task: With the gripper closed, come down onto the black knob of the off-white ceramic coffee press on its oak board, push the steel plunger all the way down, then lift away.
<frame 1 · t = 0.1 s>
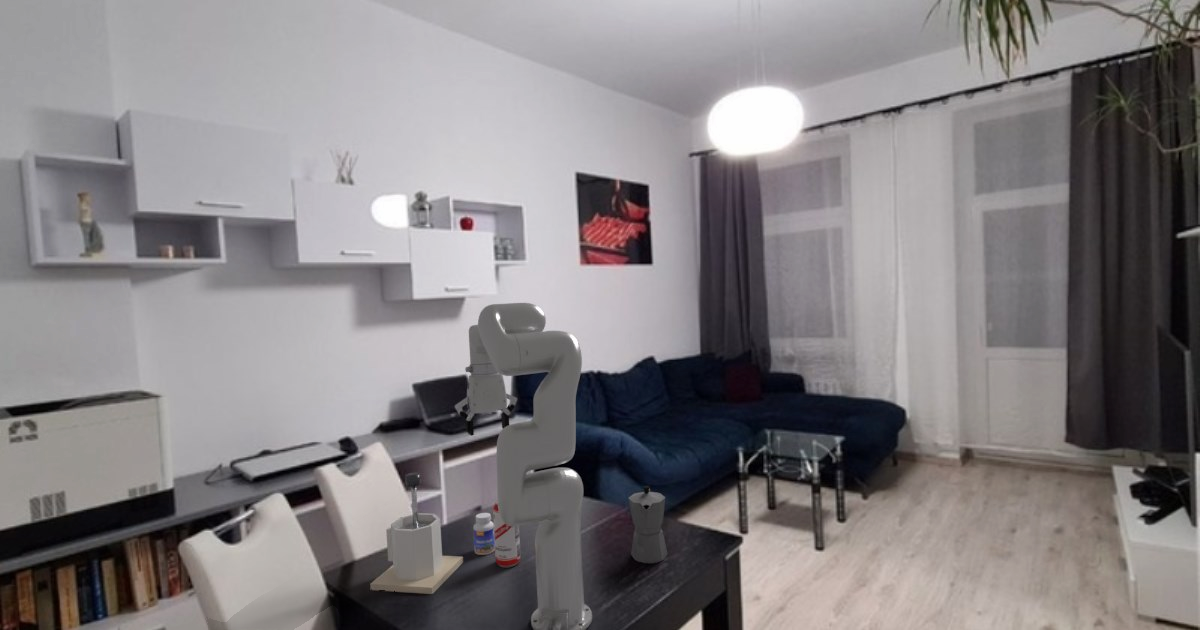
hand: (488, 431, 159), 31 cm above the table, tool pointing down, fingers open, 9 cm apart
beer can: (508, 563, 148), on the table
coffeepot: (649, 554, 149), on the table
press: (418, 575, 143), on the table
pill bottle: (484, 551, 156), on the table
plunger: (414, 503, 143), point 18 cm above the table, slide at 0.0 cm
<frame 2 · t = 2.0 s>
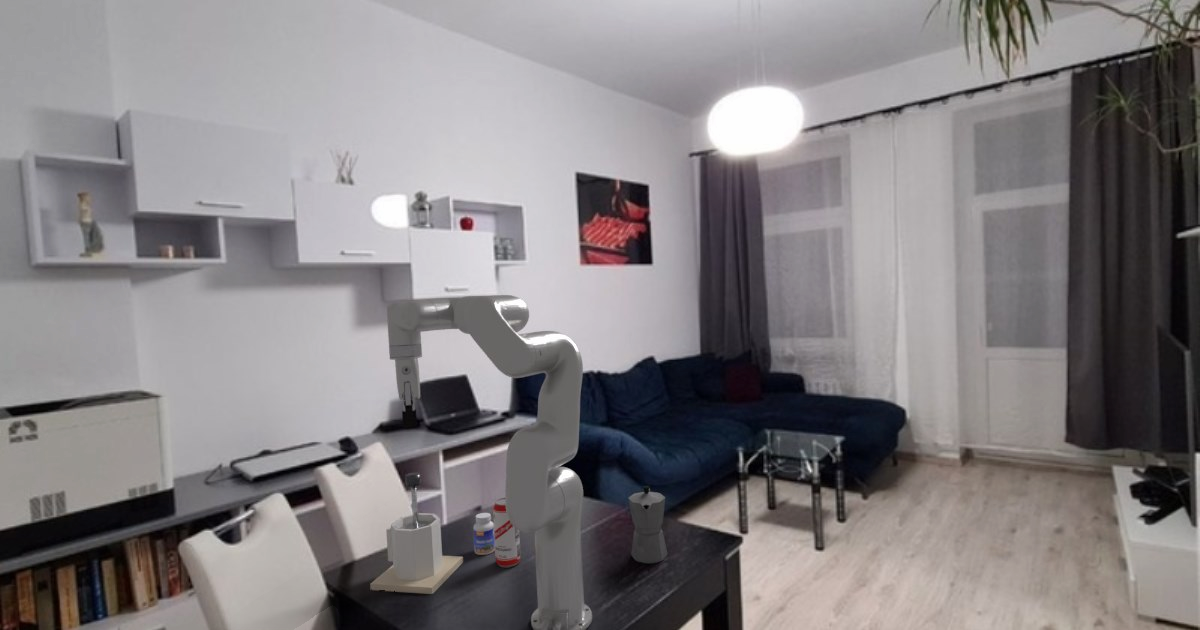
hand: (410, 426, 142), 37 cm above the table, tool pointing down, fingers closed
nothing on the table moved.
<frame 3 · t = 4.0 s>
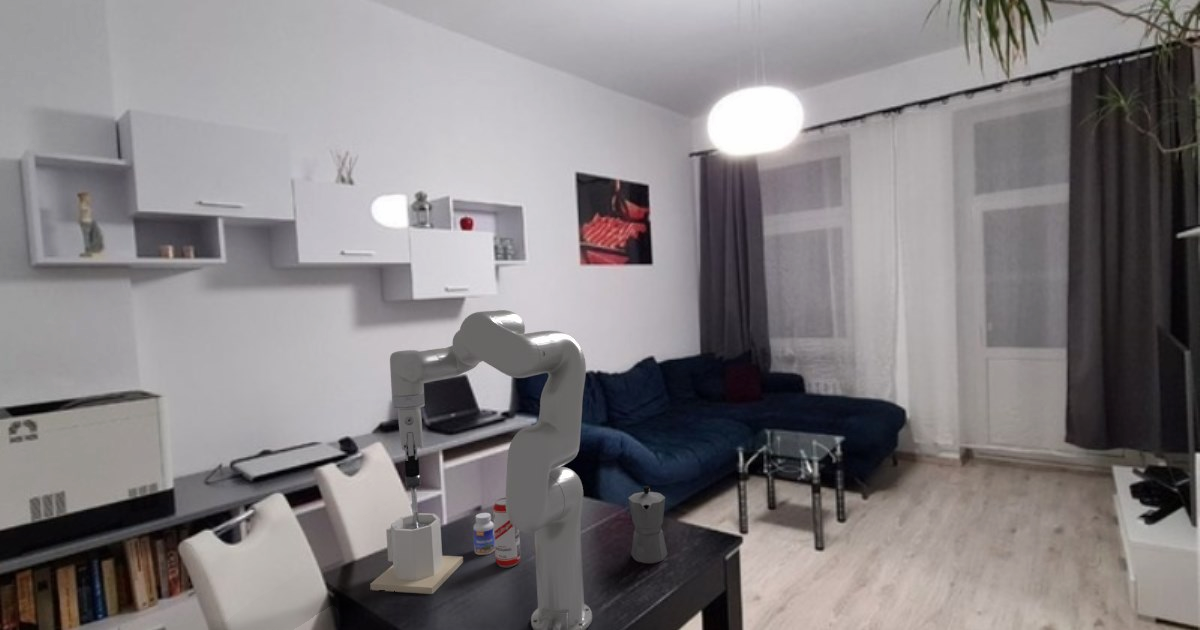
hand: (412, 475, 143), 25 cm above the table, tool pointing down, fingers closed
plunger: (414, 503, 143), point 18 cm above the table, slide at 0.2 cm, touching gripper
everything else where it was.
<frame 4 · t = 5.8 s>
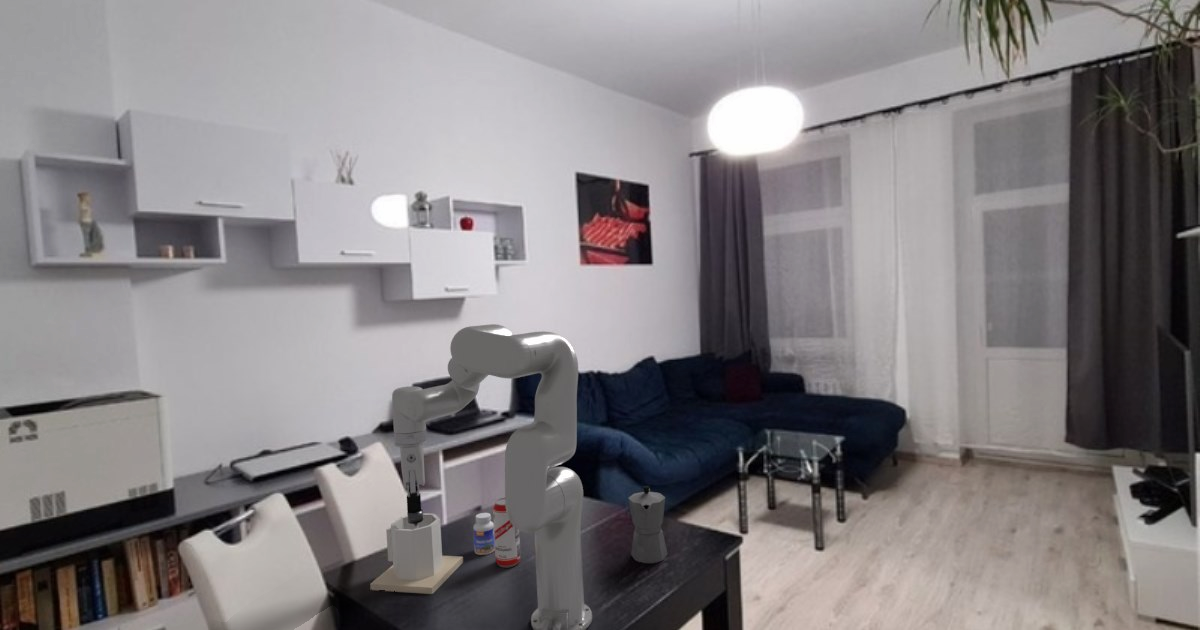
hand: (414, 511, 143), 16 cm above the table, tool pointing down, fingers closed
plunger: (416, 539, 143), point 9 cm above the table, slide at 9.1 cm, touching gripper
everything else where it was.
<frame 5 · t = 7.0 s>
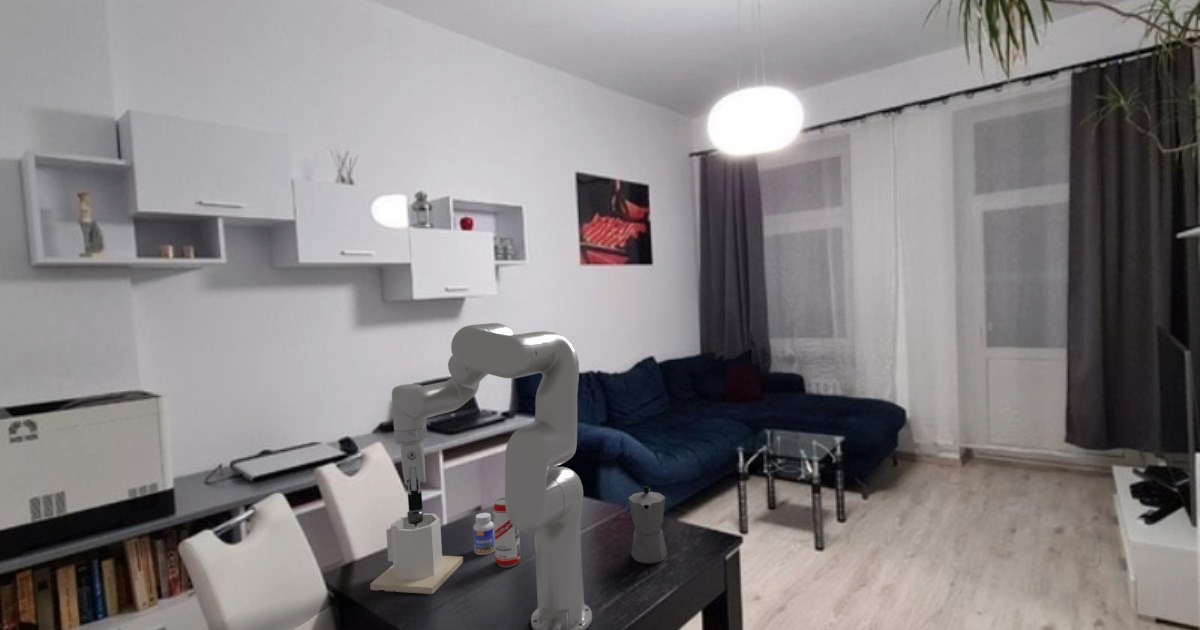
hand: (415, 509, 143), 17 cm above the table, tool pointing down, fingers closed
plunger: (416, 540, 143), point 9 cm above the table, slide at 9.2 cm
everything else where it was.
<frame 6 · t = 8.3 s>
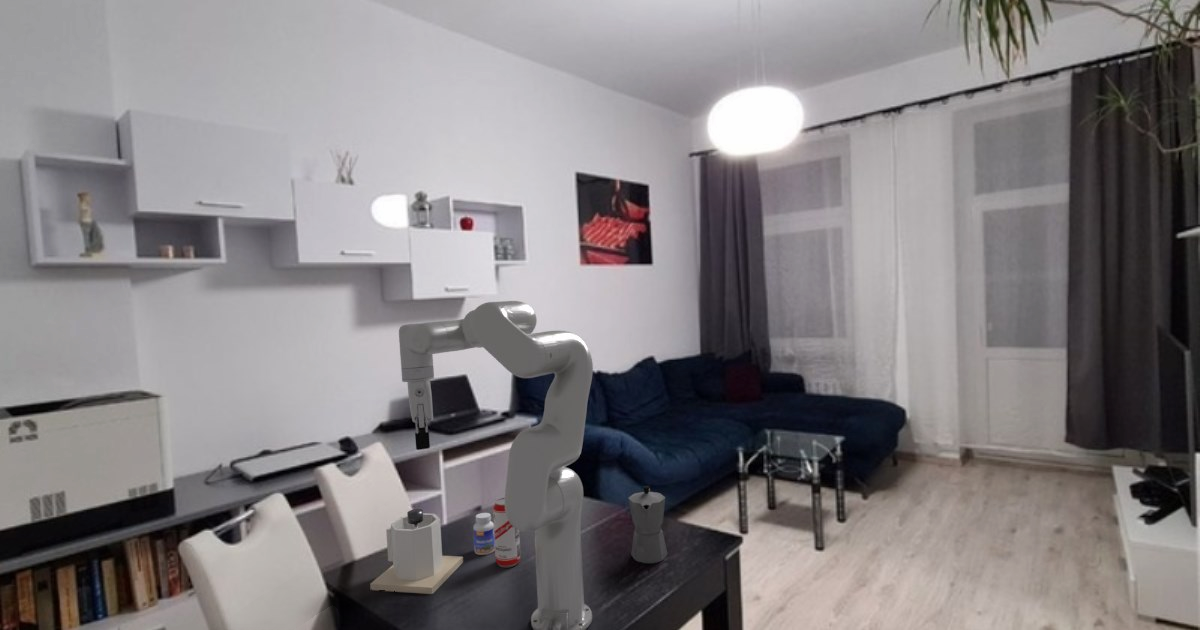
hand: (423, 448, 142), 32 cm above the table, tool pointing down, fingers closed
nothing on the table moved.
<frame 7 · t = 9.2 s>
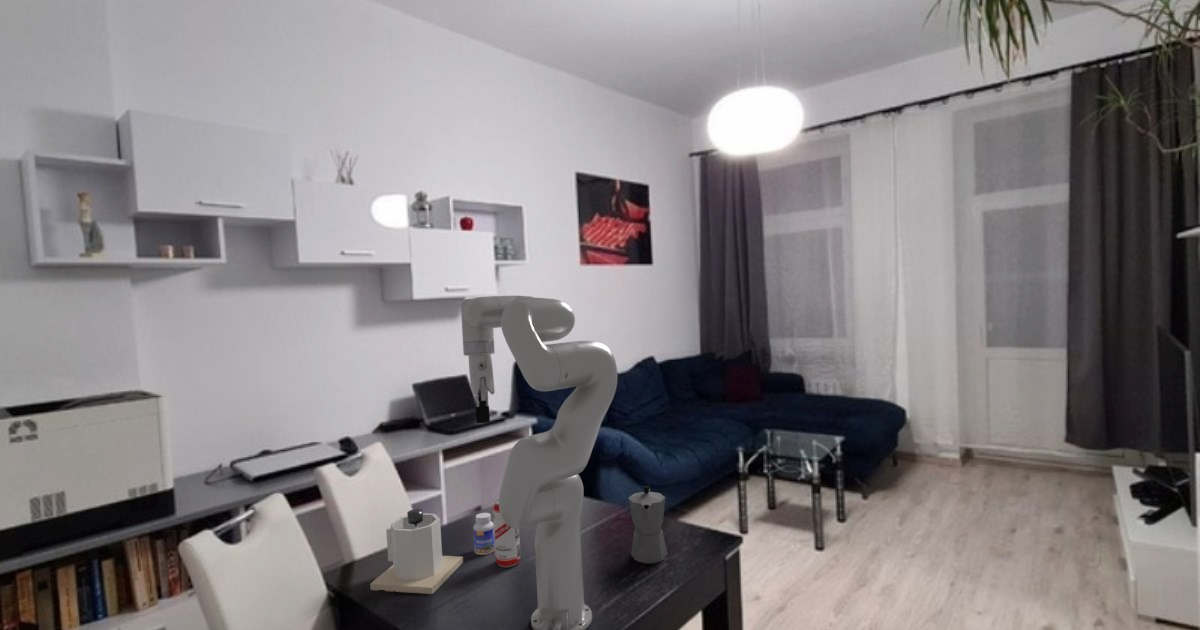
hand: (482, 422, 144), 37 cm above the table, tool pointing down, fingers closed
nothing on the table moved.
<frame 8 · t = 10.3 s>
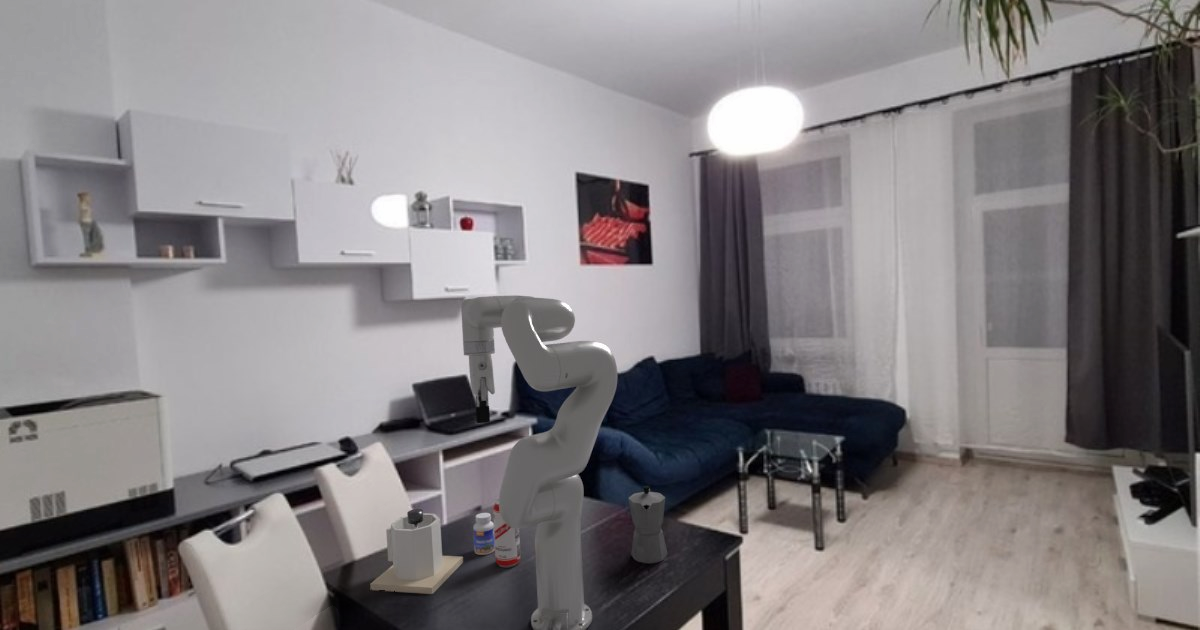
hand: (483, 421, 144), 37 cm above the table, tool pointing down, fingers closed
nothing on the table moved.
at the end: plunger slide at 9.2 cm; pill bottle moved 0.2 cm from its start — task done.
